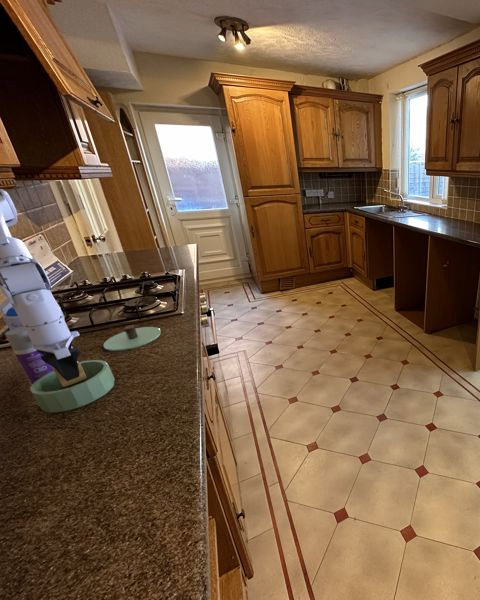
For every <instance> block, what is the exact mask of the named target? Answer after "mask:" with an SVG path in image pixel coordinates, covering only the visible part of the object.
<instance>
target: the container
mask: <svg viewBox="0 0 480 600" xmlns="http://www.w3.org/2000/svg"><path fill="white" fill-rule="evenodd" d="M4 335H5V338H6V339H7V342H8V343H9V346H10V347H11V349H12V351H13V353H14V355H15V356H16V357H15V358H16V359H17V360H18V362H19V363H20V366H21V367H22V369H23V370H24V373H25V374H26V376H27V378H28V379H29V381H30V383H31V386H32V385H33V383H34V382H35V381H37V380H38V379H40V378H41V377H43V376H44V375H46V374H48V373H50V372H52V371H54V370H53V368H52V366H51V365H49V364H47V363H46V362H44V361H43V360H42V358H41V356H44V355H42V354H41V353H39V352H37V350H36V349H34V348H33V346H32V344H33V343H32V341H31V339H30V337H29V335H28V333H27V331H26V330H25V328H24V326H23V327H18V328H15V329H12V330H10V329H9V330H7V331H5V332H4Z"/></svg>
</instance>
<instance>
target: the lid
mask: <svg viewBox="0 0 480 600" xmlns="http://www.w3.org/2000/svg"><path fill="white" fill-rule="evenodd" d="M123 330H124V331H122V332H120V333H118V334H115V335H113V336H110V337H109V338H108V339H107V340H106V341H105V342H104V343H103V348H104V349H105V351H110V352H122V351H127V350H133V349H136V348H139V347H142V346H144V345H147V344H150V343H151V342H153V341H155V340H156V339H158V338H159V337H160V336H161V334H162V331H161V328H159V327H156V326H144V327H135V325H133V324H131V325H127V326H124V328H123Z"/></svg>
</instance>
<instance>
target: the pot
mask: <svg viewBox="0 0 480 600" xmlns="http://www.w3.org/2000/svg"><path fill="white" fill-rule="evenodd" d="M78 362H79V363H80V364H81V366H82V368H83V370H84V372H85V375H86V377H87V379H86V380H84V381H83V382H80V383H78V384H75V385H72V386H71V387H65V388H63V386H62V385H61V383H60V381H59V380H58V378H57V376H56V374H55V372H54V371H52V372H50V373H48V374H46V375H44V376H43V377H41V378H40V379H38V380H37V381H35V382H34V383H33V385H32V384H31V386H30V388H29V390H30V392H31V394H32V396H33V398H34V400H35V401H36V403H37V405H38V406H39V408H40V410H42V411H43V412H45V413H52V414H54V413H61V412H67V411H71V410H72V411H73V410H75V409H78V408H81V407H83V406H86V405H88V404H90V403H93V402H95V401H97V400H98V399H100V398H102V397H103V396H105V395H106V394H108V393H109V392H110V391H111V390H112V389H113V388H114V386H115V384H116V382H115V380H116V379H115V377H114V375H113V372H112V370H111V368H110V365H109V364H108V363H107V362H106V361H105V360H102V359H90V360H89V359H88V360H82V361H78Z"/></svg>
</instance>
